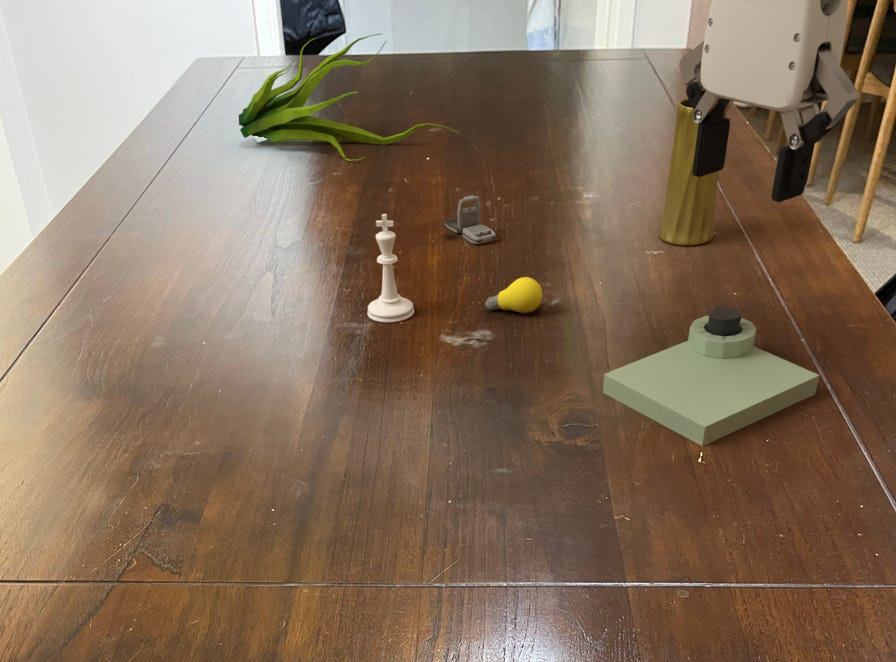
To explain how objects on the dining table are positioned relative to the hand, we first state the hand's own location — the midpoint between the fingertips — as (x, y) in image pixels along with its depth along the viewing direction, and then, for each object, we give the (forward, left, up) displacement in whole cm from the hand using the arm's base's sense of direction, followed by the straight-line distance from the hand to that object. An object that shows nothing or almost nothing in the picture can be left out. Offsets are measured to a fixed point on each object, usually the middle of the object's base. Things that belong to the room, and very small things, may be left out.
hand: (746, 183), depth 83 cm
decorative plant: (-11, -84, -16) cm, 87 cm away
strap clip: (-3, -42, -16) cm, 46 cm away
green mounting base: (+5, +4, -16) cm, 17 cm away
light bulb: (+7, -21, -16) cm, 28 cm away
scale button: (0, 0, -13) cm, 13 cm away
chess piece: (+17, -29, -16) cm, 38 cm away
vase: (-21, -24, -16) cm, 36 cm away
